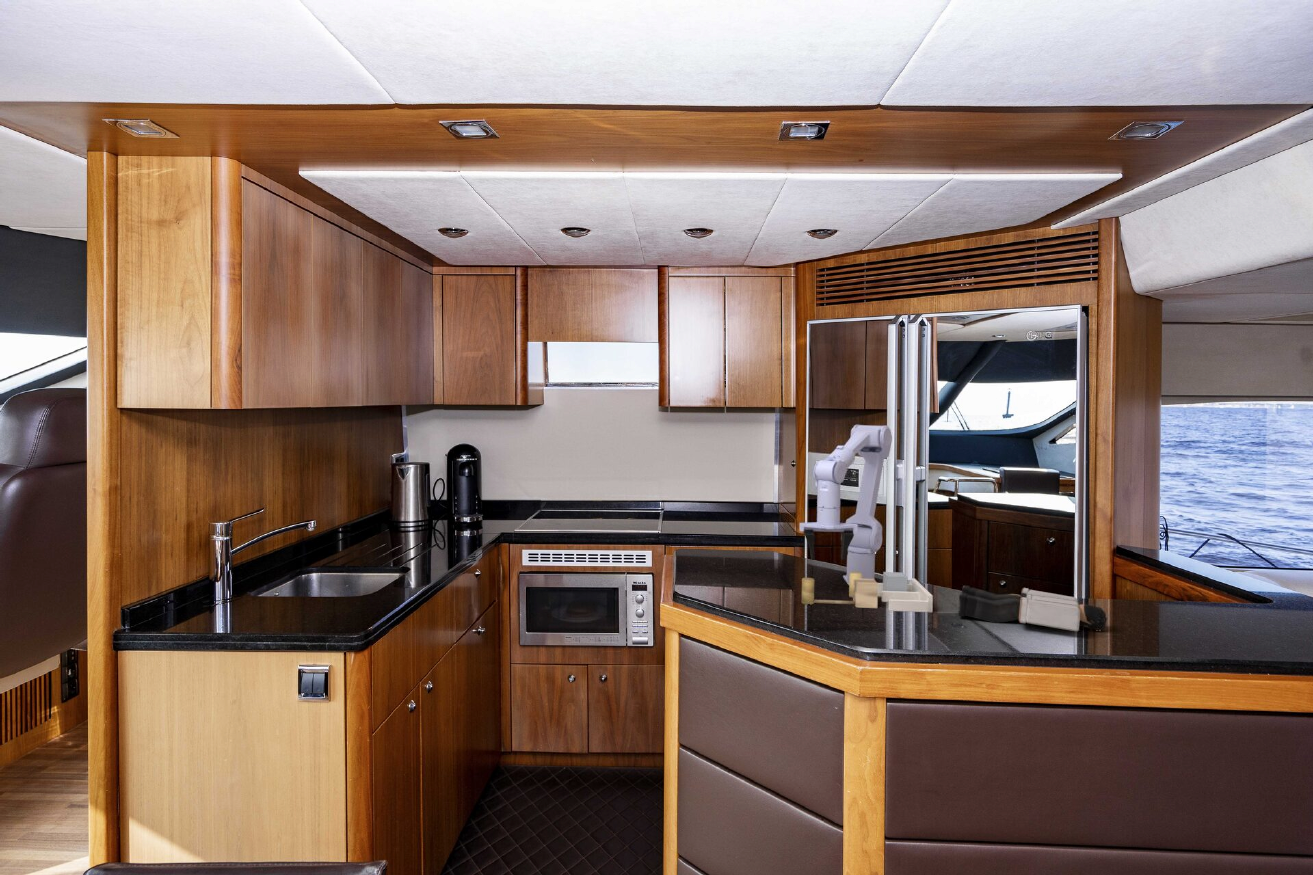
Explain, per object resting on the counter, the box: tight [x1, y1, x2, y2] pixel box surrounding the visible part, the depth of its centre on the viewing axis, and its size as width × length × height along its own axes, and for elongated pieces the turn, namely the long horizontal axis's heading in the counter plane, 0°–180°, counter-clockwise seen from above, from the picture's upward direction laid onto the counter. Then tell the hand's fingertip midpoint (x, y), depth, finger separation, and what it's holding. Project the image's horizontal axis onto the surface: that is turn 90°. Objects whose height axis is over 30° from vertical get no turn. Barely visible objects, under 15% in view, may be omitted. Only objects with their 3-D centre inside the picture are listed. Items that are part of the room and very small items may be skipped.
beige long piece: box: [801, 577, 879, 609], centre depth 181 cm, size 5×18×6 cm, turn 84°
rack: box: [877, 577, 934, 613], centre depth 183 cm, size 17×10×4 cm, turn 174°
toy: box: [957, 585, 1108, 632], centre depth 168 cm, size 19×7×30 cm
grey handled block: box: [848, 571, 909, 598], centre depth 188 cm, size 5×14×6 cm, turn 84°
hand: (827, 559), depth 188 cm, fingers open, 7 cm apart
